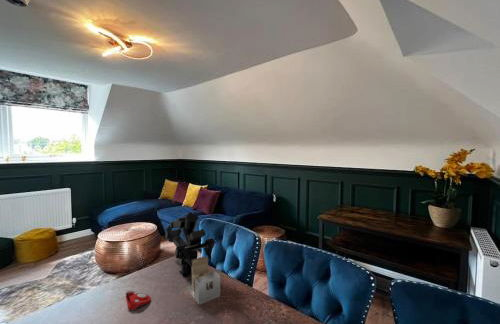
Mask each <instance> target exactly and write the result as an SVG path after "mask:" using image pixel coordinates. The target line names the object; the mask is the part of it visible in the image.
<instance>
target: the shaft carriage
mask: <svg viewBox="0 0 500 324" xmlns="http://www.w3.org/2000/svg"><path fill="white" fill-rule="evenodd" d="M191 261H192V275H191V285H192V289H193V290H195V278H198V277H201V276H204V275H207V274H209V258H208V256H206V255H205V256H202V257H201V256H200V257H197V259H194V260H191ZM207 284H208V283H206V285H207Z"/></svg>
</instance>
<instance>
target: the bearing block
mask: <svg viewBox="0 0 500 324" xmlns="http://www.w3.org/2000/svg"><path fill="white" fill-rule="evenodd" d="M206 283H208V284H207V285H206ZM186 289H187V290H188V293H189V294H190V295H191V296H192V298H193V300H195V302H196V304H197V305H202V304H205V303H207V302H210V301H212V300H215V299H217V298H220V297H221V275H220V273H218V272H217V271H213V272H210V273H208V274H207V275H204V276H201V277H198V278H195V290H193V289H192V284H190V285H188V286H186Z"/></svg>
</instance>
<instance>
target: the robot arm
mask: <svg viewBox="0 0 500 324" xmlns="http://www.w3.org/2000/svg"><path fill="white" fill-rule="evenodd" d="M198 221H199V216H198V215H197V214H196V213H193V212H192V211H191V212H190V211H189V212H188V213H187V215H186V216H181V217H178V218H177V219H176V220H172V221H169V225H168V227H167V228H166V229H165V234H164V235H165V239H166V241H168V242H169V243H173V245H174V246H175V250H174V258H176V259H177V263H179V265H180V266H181V270H179V273H180V275H181V276H182V278H186V277H189V276H192V261H191V260H194V259H197V258H198V255H199V253H198V252H199V251H198V250H201V249H204V250H205V254H206V255H207V256H206V257H207V258H208V260H209V261H212V250H213V249H214V246H215V244H216V241H215V239H214V237H211V238H206V239H205V240H204V242H203V243H202V238H203V237H205V236H206V230H205V228H202V229H201V228H200V229H199V230H195V229H196V228H197V225H198ZM175 228H177V229H175ZM181 236H183V237H184V239H183V238H182V237H181Z"/></svg>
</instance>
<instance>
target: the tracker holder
mask: <svg viewBox="0 0 500 324" xmlns="http://www.w3.org/2000/svg"><path fill="white" fill-rule="evenodd" d="M125 299H126V305H127V309H128V310H131V311H134V310H136V309H137V308H138V307H140V306H142V305H147V304H149V303H150V302H151V299H152V297H151V296H150V295H148V294H147V293H142V292H140V293H139V292H138V293H135V291H133V290H129V291H128V290H127V291H126V292H125Z"/></svg>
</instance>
